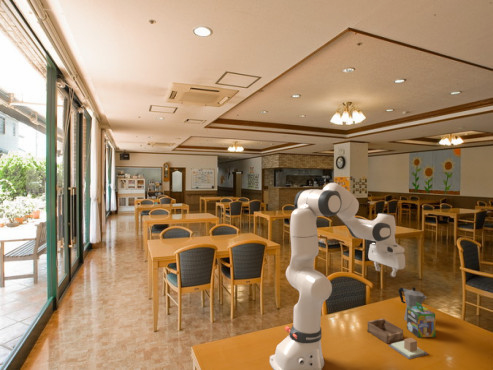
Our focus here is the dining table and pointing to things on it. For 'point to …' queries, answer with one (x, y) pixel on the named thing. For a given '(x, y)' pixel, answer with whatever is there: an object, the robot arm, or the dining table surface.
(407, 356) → the mat
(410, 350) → the cover plate
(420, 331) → the chalk box
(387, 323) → the open wooden box
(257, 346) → the dining table surface
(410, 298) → the coffeepot
